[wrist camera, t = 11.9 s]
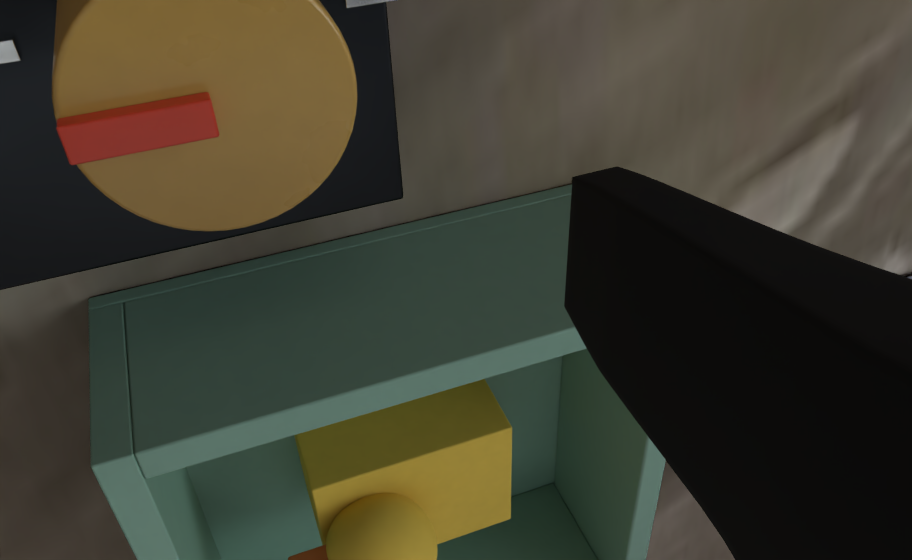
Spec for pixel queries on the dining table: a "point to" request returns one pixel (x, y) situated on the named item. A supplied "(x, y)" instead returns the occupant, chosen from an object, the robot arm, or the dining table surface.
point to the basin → (362, 387)
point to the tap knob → (202, 104)
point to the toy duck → (408, 476)
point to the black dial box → (120, 231)
